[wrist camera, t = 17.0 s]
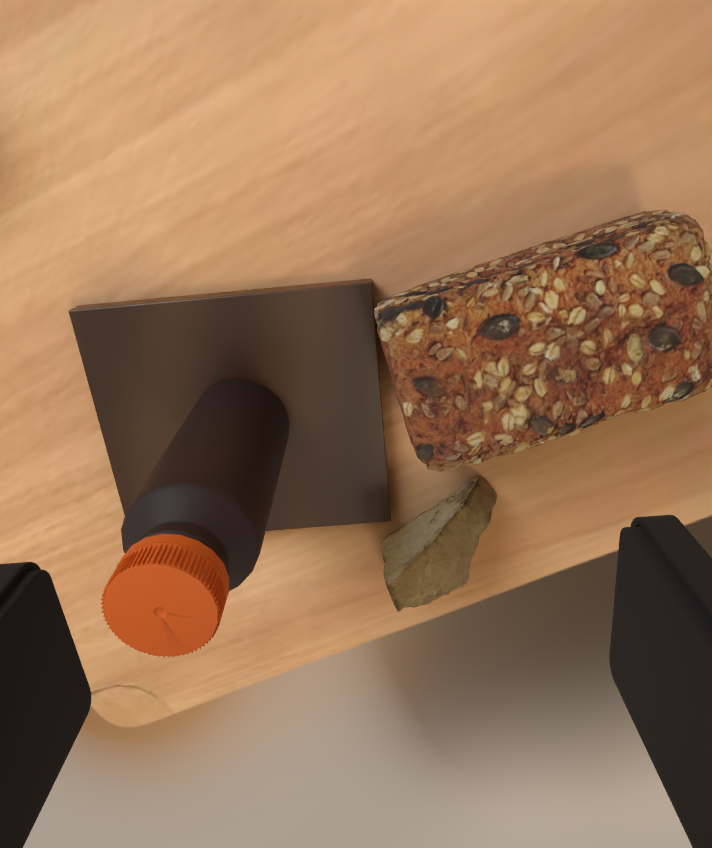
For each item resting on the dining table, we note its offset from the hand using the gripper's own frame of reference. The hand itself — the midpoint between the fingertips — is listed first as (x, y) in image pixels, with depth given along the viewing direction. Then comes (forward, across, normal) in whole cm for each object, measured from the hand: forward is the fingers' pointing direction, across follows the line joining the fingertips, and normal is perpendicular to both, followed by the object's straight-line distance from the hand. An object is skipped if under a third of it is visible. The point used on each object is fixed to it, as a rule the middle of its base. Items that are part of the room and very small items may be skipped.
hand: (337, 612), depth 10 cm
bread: (+34, -11, +5) cm, 36 cm away
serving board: (+34, +9, +10) cm, 36 cm away
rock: (+34, -4, +21) cm, 40 cm away
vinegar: (+32, +9, +10) cm, 35 cm away
